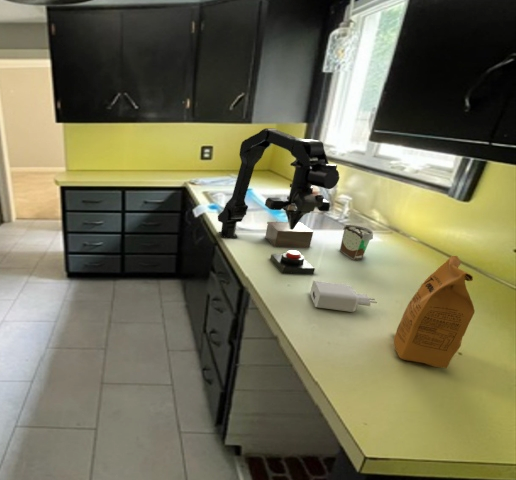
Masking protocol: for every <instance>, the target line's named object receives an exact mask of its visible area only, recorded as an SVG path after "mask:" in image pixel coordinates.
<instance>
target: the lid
mask: <svg viewBox="0 0 516 480" xmlns="http://www.w3.org/2000/svg"><path fill="white" fill-rule="evenodd" d="M266 224H267V225H269V226H271V227H272V228H273V229H274V230H275V231H276V232H277V233H313V234H314V231H313V230H312V229H311V228H309V227H308V226H306V225H304V223H302V222H300V221H299V222H298V223H297V225H296V226H295V228H294V229H293V230H291V229H290V228H289V223H288V221H267V222H266Z"/></svg>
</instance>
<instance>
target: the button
mask: <svg viewBox="0 0 516 480" xmlns="http://www.w3.org/2000/svg"><path fill="white" fill-rule="evenodd" d="M286 252H287V257H289V258H294V259H298V258H300V254H301V252H300V251H299V250H295V249H290V250H287V251H286ZM301 255H302V254H301Z"/></svg>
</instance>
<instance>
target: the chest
mask: <svg viewBox="0 0 516 480" xmlns="http://www.w3.org/2000/svg"><path fill="white" fill-rule="evenodd" d="M264 236H265V239H266V240H267V241H268V242H269V243H270V244H271V245H272V246H273V247H275V248H276V247H277V248H310V247H311V244H312V239H313V236H314V232H313V233H277V232H276V231H275V230H274V229H273V228H272V227H271V226H269V225H268V224H267V226H266V230H265V235H264Z"/></svg>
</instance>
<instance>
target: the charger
mask: <svg viewBox="0 0 516 480" xmlns="http://www.w3.org/2000/svg"><path fill="white" fill-rule="evenodd" d="M309 293H310V297H311V300H312V302H313V305H314V308H319V309H325V310H326V309H327V310H334V311H342V312H348V313H349V312H350V313H353V312H355V311H356V310H357V309H358V306H365V307H371V303H372V304H377V303H378V301H376V299H375V298H372V297H369V296H368V295H367V294H364V293H357V291H355V288H354V287H353V286H351V285H350V284H345V283H336V282H327V281H321V280H320V281H319V280H313V281H312V284H311V288H310V292H309Z"/></svg>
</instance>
